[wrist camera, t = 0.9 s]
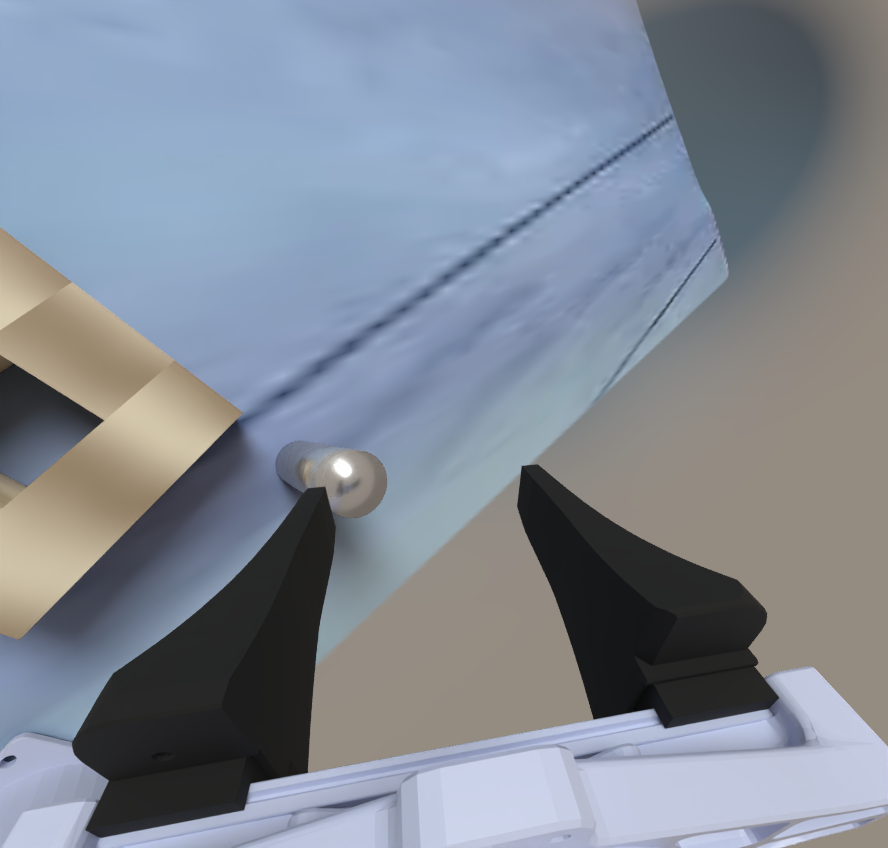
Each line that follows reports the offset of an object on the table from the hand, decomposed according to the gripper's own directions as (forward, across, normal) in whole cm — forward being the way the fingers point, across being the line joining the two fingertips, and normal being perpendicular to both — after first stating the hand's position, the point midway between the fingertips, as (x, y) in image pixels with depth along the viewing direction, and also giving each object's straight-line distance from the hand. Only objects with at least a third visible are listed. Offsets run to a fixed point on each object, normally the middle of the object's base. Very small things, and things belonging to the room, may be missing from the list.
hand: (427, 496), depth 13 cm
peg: (+11, +8, +5) cm, 14 cm away
